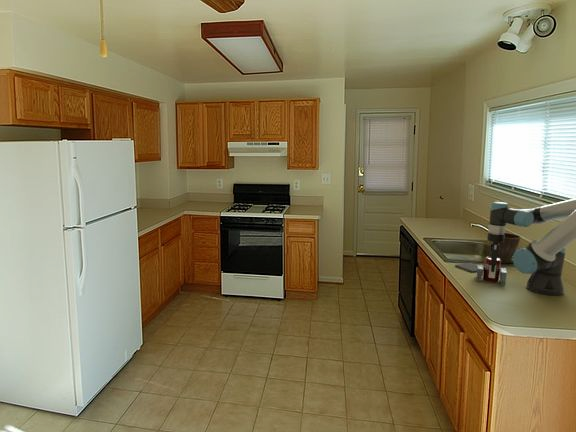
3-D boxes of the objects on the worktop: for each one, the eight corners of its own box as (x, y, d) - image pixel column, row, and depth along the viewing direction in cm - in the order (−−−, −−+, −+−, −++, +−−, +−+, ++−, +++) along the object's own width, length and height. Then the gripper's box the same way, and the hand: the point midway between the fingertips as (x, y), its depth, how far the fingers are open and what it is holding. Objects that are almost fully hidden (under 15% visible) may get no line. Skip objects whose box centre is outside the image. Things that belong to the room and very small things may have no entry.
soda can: (484, 277, 214) (486, 255, 212) (499, 280, 210) (502, 258, 208) (481, 281, 208) (483, 258, 206) (497, 284, 204) (499, 261, 202)
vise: (505, 285, 203) (506, 272, 201) (476, 281, 208) (477, 268, 207) (504, 280, 210) (505, 268, 209) (476, 276, 215) (478, 264, 214)
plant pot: (508, 257, 253) (511, 232, 250) (522, 265, 239) (526, 238, 236) (484, 257, 253) (487, 232, 250) (497, 264, 238) (500, 237, 235)
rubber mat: (487, 270, 226) (488, 268, 226) (472, 272, 221) (472, 271, 221) (470, 264, 237) (470, 262, 237) (454, 266, 232) (455, 264, 232)
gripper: (487, 227, 217) (483, 266, 221) (488, 237, 195) (483, 279, 199) (503, 229, 214) (498, 268, 218) (506, 239, 192) (500, 282, 196)
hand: (491, 273), depth 208 cm, fingers open, 13 cm apart
